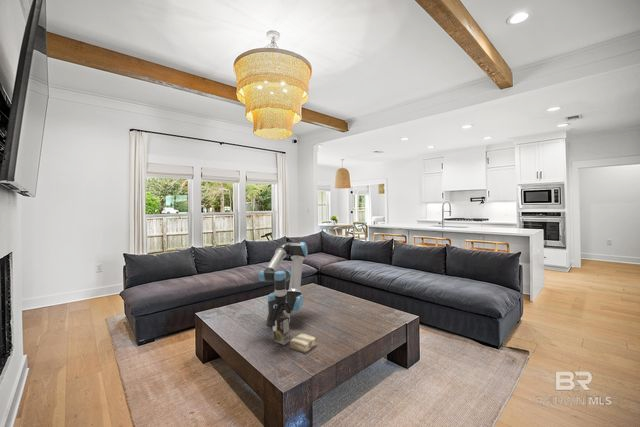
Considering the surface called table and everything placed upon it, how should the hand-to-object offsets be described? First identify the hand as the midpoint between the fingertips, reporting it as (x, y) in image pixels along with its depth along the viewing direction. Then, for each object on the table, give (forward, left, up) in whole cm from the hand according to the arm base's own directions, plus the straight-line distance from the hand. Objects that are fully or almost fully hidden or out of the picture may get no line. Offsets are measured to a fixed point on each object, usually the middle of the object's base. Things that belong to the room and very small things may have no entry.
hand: (281, 326), depth 188 cm
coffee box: (0, 0, -11) cm, 11 cm away
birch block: (-2, +16, -11) cm, 19 cm away
